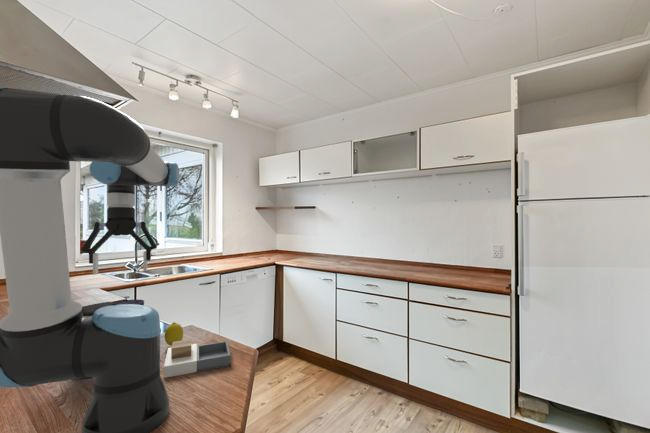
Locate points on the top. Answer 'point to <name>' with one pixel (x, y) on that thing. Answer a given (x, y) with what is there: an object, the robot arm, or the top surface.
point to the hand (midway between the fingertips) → (121, 272)
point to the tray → (213, 356)
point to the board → (181, 363)
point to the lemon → (173, 333)
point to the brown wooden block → (181, 349)
